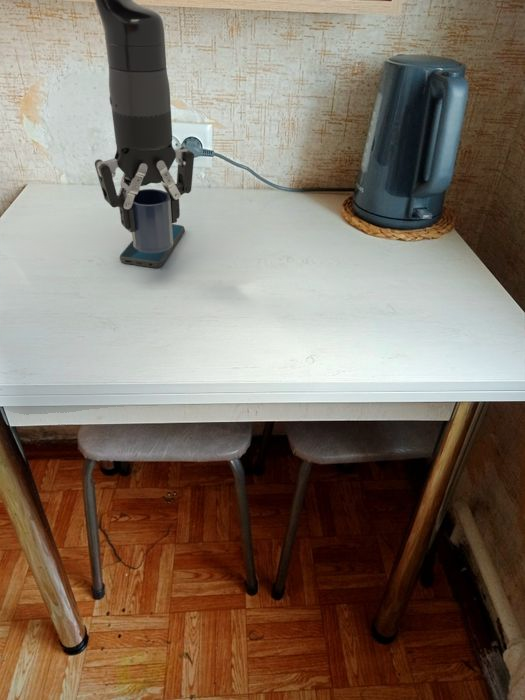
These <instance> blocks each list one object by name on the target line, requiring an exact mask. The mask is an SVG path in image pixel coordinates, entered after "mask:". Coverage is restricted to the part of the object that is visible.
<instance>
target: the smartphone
mask: <svg viewBox="0 0 525 700" xmlns="http://www.w3.org/2000/svg"><path fill="white" fill-rule="evenodd" d="M172 231H173V245H172V247H171V248H170V249H168V250H166V251H164V252H160V253H144V252H141V251H139V250H137V249H136V248H135V247H134V245H133V239H132V240H131V242H130V243H129V244H128V245H127V246H126V247H125V249H124V250H123V251H122V253H120V255H119V261H120V263H123V264H128V265H135V266H140V267H141V266H142V267H146V268H147V267H148V268H160V267H161V266H163V264H164V263H165V261H166V259H167V258H168V257H169V255H170V254H171V253H172V251H173V250H174V248H175V246H176V245H177V243H178V242H179V240H180V239H181V237H182V236H183V234H184V233H185V227H184V226H183V225H182V224H176V223H172Z"/></svg>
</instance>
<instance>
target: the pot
mask: <svg viewBox="0 0 525 700" xmlns="http://www.w3.org/2000/svg"><path fill="white" fill-rule="evenodd" d="M132 208H133V211H134V220H135V229H136V231H135V232H131V238H132V240H133V245H134V247H135V248H136V249H137V250H139V251H141V252H144V253H160V252H164V251H166V250H168V249H170V248H171V247H172V245H173V231H172V224H173V223H172V215H171V199H170V195H169V194H168V193H167V192H166V190H165V191H164V190H161V189H157V188H143V189H139V192H138V194H137V195H136V196H135V198H134V201H133V204H132Z"/></svg>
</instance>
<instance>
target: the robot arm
mask: <svg viewBox="0 0 525 700" xmlns="http://www.w3.org/2000/svg"><path fill="white" fill-rule="evenodd" d="M94 2H95V5H96V9H97V11H98V14H99V18H100V20H101V23H102V27H103V30H104V32H103V33H104V40H105V49H106V50H105V51H106V57H107V66H108V91H109V105H110V107H111V116H112V122H113V123H112V124H113V132H114V141H115V145H116V152H115V155H114V158H111V159H107V160H102V159H100V158H97V159H96V160H94V161H95V162H94V167H95V171H96V174H97V178H98V181H99V184H100V189H101V193H102V195H103V199H104V201H106V202H107V204H108V205H110V206H111V207H112V208H118V209H119V216H120V223H121V226H122V227H123V228H124V229H125V230H127V231H128V232H129V233H131V234H132V232H135V231H136V229H135V220H134V211H133V208H132V204H133V201H134V198H135V196H136V195H137V194H138V192H139V190H141V187H143V186H147V185H150V184H161V185H162V187H163V189H164V190H165V192H167V193H168V194H169V195H170V199H171V215H172V224H176V223H178V219H180V216H181V213H180V211H181V209H180V198H181V197H182V196H183V195H184V194H190V193H191V191H192V186H193V185H192V184H193V176H194V175H193V173H194V164H195V163H194V162H195V154H194V153H193V152H192V151H191V150H190V149H189V148H186V147H184V146H182V147H180V148H178V149H175V148H174V147H173V124H172V123H173V122H172V107H171V91H170V90H171V89H170V82H169V75H168V70H167V69H168V68H167V51H166V35H165V34H166V33H165V25H164V20H163V18H162V16H161V15H160V14H159V13H158V12H157V11H155V10H153V9H151V8H148V7H145V6H142V5H140V4H138V3H137V2H135V1H134V0H94ZM174 162H175V163H176V164H177V171H176V172H177V174H176V182H175V180H174V178H173V176H172V175H171V173H170V169H171V167H172V165H173V164H174ZM117 169H120V170H121V172H122V173H123V174H122V177H121V180H120V189H119V192H118V193H117V189H116V186H115V183H114V179H113V178H115V176H116V174H117V173H116V170H117Z"/></svg>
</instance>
